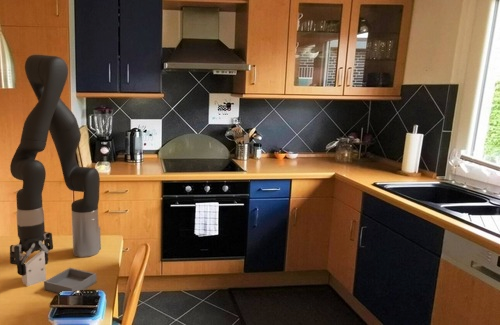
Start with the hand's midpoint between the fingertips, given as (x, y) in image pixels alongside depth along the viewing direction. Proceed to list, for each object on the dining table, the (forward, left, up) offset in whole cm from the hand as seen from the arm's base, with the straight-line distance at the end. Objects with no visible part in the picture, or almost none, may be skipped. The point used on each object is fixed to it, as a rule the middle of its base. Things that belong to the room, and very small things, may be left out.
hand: (33, 269), depth 128 cm
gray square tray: (-2, +13, -4) cm, 14 cm away
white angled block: (0, 0, -5) cm, 5 cm away
